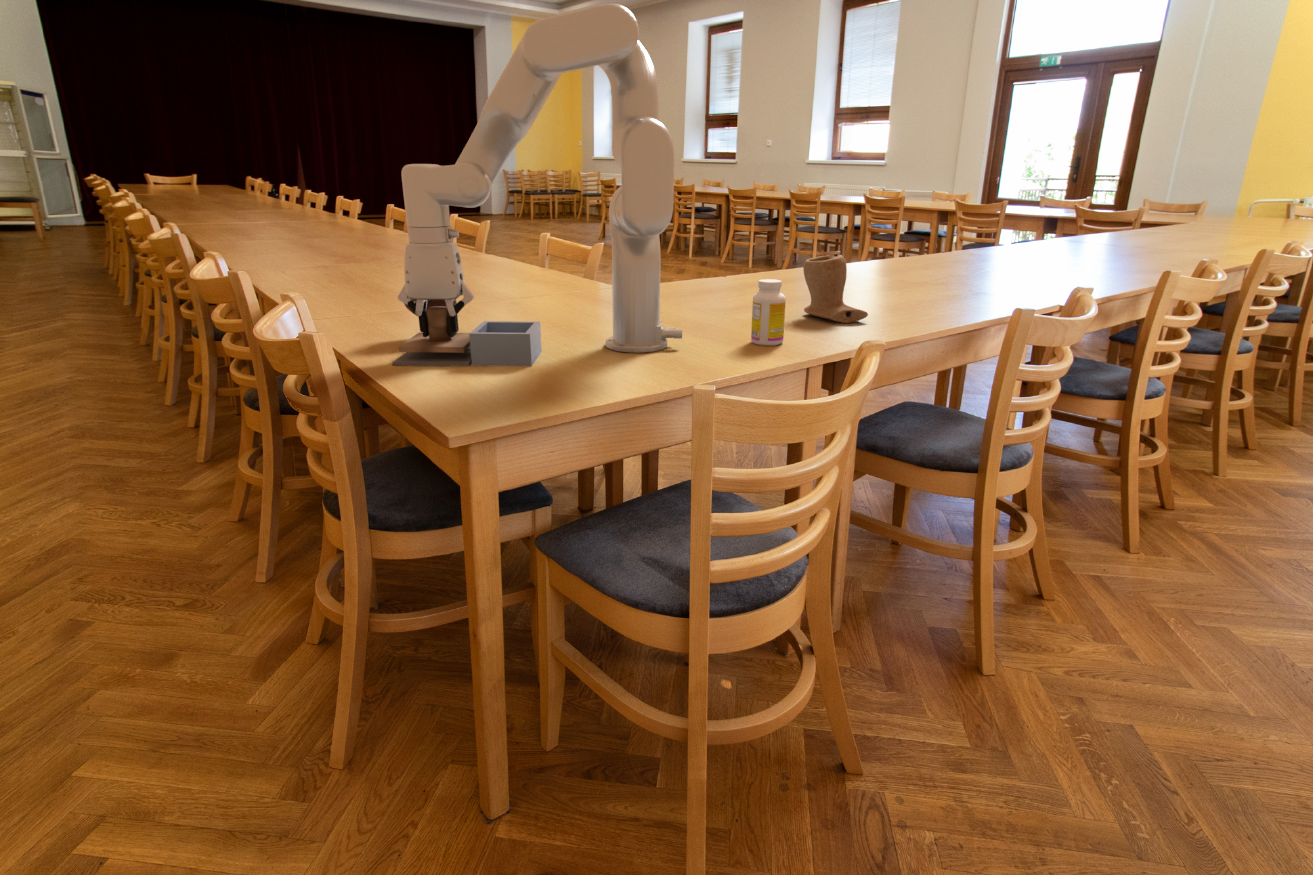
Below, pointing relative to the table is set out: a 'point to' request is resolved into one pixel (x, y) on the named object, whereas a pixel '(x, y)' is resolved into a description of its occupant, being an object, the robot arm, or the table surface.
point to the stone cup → (829, 289)
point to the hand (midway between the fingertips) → (439, 334)
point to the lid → (437, 335)
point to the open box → (505, 343)
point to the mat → (434, 359)
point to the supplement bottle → (768, 313)
